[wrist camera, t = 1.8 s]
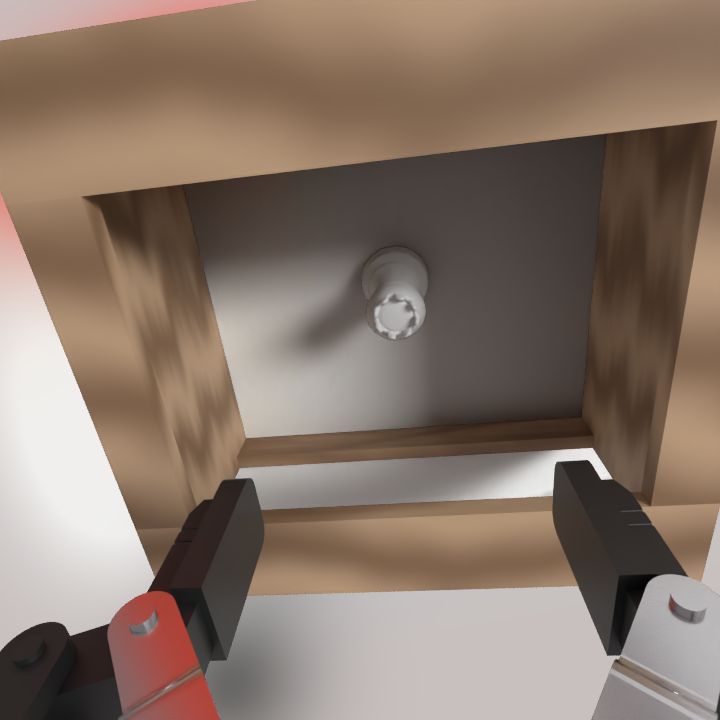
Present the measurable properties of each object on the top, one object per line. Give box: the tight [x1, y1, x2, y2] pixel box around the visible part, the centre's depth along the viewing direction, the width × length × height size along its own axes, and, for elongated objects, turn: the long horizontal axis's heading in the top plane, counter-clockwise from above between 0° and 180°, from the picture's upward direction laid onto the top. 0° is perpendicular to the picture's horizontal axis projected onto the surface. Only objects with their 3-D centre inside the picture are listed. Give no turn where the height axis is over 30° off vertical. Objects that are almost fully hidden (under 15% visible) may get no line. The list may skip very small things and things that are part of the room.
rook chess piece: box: [362, 246, 429, 341], centre depth 29 cm, size 4×4×8 cm
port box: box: [0, 0, 720, 596], centre depth 26 cm, size 26×28×14 cm
